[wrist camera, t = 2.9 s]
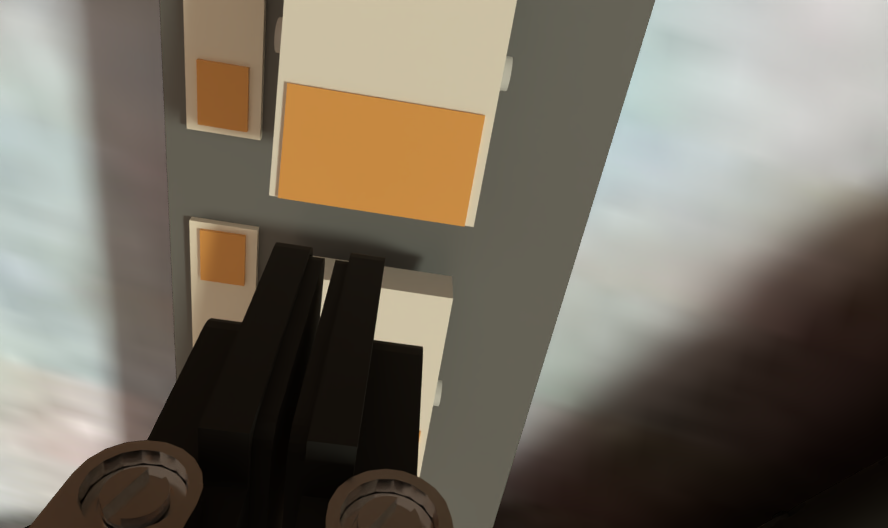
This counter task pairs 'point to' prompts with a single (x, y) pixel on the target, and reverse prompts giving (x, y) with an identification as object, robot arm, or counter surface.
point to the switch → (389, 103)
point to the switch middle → (413, 326)
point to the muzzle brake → (843, 503)
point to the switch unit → (398, 238)
